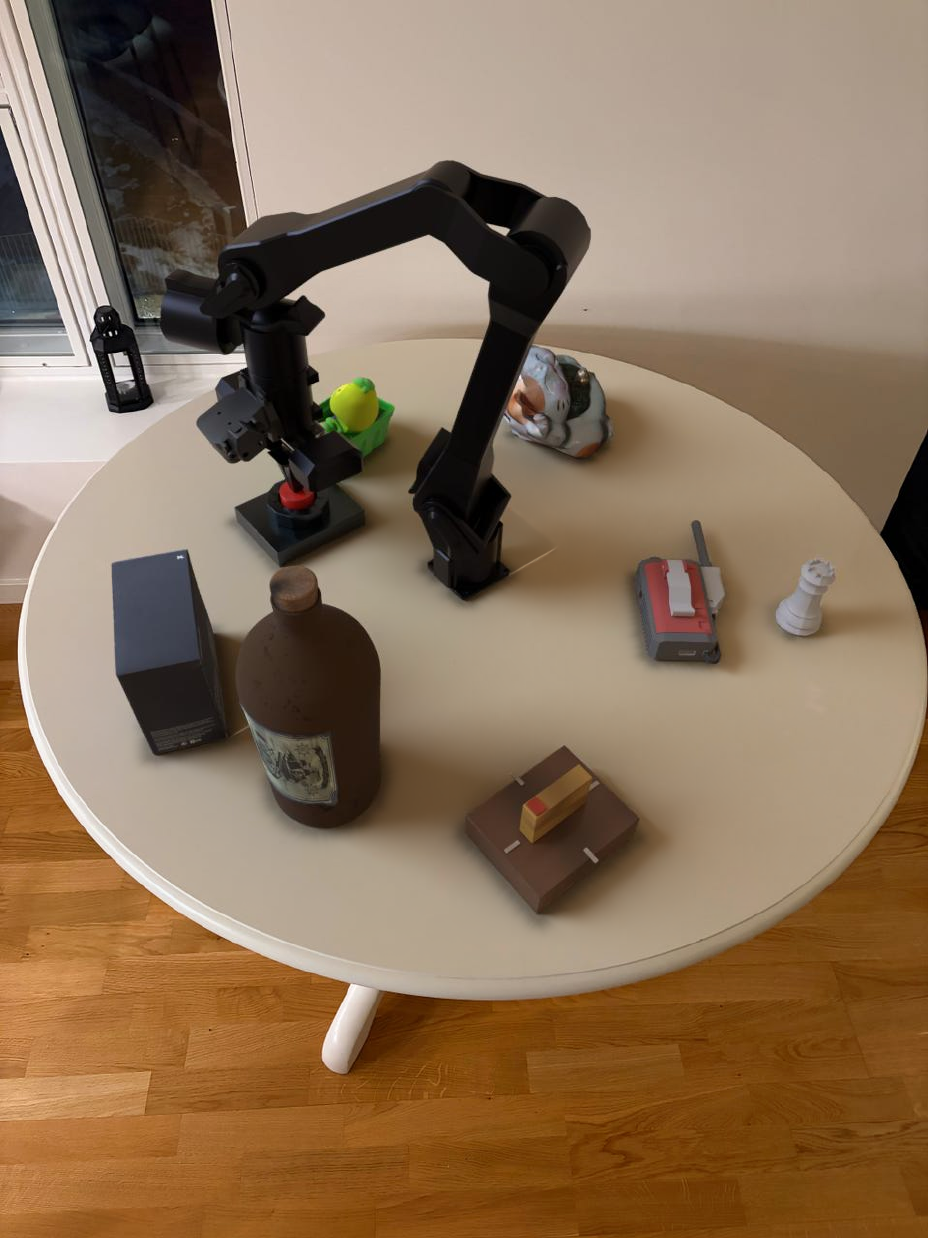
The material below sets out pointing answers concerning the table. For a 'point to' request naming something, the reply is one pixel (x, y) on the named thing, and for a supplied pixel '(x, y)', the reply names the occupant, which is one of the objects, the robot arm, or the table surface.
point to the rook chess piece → (806, 599)
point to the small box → (166, 652)
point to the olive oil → (313, 703)
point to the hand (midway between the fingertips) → (296, 489)
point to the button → (295, 497)
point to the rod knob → (555, 803)
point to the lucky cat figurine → (559, 405)
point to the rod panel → (549, 832)
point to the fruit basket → (357, 414)
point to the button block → (298, 522)
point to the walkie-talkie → (680, 605)
